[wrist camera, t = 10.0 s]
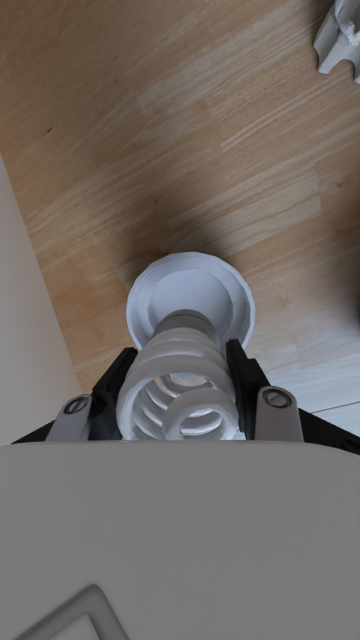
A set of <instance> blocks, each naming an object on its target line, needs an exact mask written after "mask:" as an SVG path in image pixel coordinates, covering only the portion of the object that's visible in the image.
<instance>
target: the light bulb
mask: <svg viewBox="0 0 360 640" xmlns="http://www.w3.org/2000/svg"><path fill="white" fill-rule="evenodd" d="M170 376H171V377H173V378H175V379H181V380H190V379H196V378H199V377H203V378H205V379H207V380H208V381H207V382H206V383H204V384H202V385H199V386H195V387H187V386H181V385H178V384H176V383H174V382H173V381H172V380H171V378H170ZM157 377H160V380H161V383H162V386H163V387H164V389H165V390H166V391H167V392H168V393H169V394H170V395H172V396H175V397H177V398H172V397H171V396H169V395H167V394H165V393H164V392H163V391H162V390H161V389H160V388H159V387H158V386H157V384H156V383H155V381H154V379H155V378H157ZM235 402H236V392H235V388H234V385H233V383H232V374H231V370H230V368H229V366H228V364H227V363H226V359H225V357H224V355H223V353H222V351H221V350H220V342H219V337H218V334H217V332H216V330H215V328H214V327H213V325H212V323H211V321H210V320H209V318H207V317H206V316H205V315H203V314H202V313H201V312H198V311H195V310H192V309H181V310H176V311H174V312H172V313H170V314H168V315H167V316H166V317H165V318H164V319H163V320H162V321H161V322H160V323H159V324H158V325H157V327H156V329H155V331H154V333H153V335H152V337H151V340H150V341H149V342H148V343H147V344H146V345H145V346H144V347H143V348H142V349H141V350H140V352H139V353H138V355H137V356H136V358H135V360H134V363H133V364H132V365H131V367H130V369H129V371H128V373H127V375H126V379H125V382H124V384H123V386H122V387H121V390H120V392H119V396H118V400H117V405H116V417H117V423H118V427H119V429H120V432H121V434H122V435H123V436H124V438H125V439H126V440H231V438H232V437H233V435H234V433H235V432H236V430H237V427H238V419H239V415H238V411H237V408H236V405H235ZM156 403H157V404H158V405H160V406H162V407H163V408H165V409H167V410H166V411H165V410H163V409H162V408H160V407H159V406H158V405H156ZM211 411H212V412H211ZM208 412H210V413H209V414H206V415H204V416H200V417H194V418H188V416H190V415H201V414H205V413H208ZM146 414H147V415H148V416H149V417H150V418H151V419H153V420H154V421H155V422H157V423H159V424H160V425H162V428H161V427H160V426H158V425H157V424H155V423H154V422H153V421H152V420H151V419H150V418H149V417H148V416H147V415H146ZM216 427H217V428H216ZM213 428H216V429H214V430H213V431H211V432H209V433H206V434H202V435H198V436H185V435H183V433H182V432H204V431H208V430H210V429H213Z"/></svg>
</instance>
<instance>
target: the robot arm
mask: <svg viewBox="0 0 360 640" xmlns="http://www.w3.org/2000/svg"><path fill="white" fill-rule="evenodd" d="M137 355H138V351H137V349H135V348H134V347H129V348H124V350H123V351H122V352H121V353H120V355H119V356H118V357H117V358H116V360H115V361H114V362H113V363H112V365H111V366H110V367H109V368H108V370H107V371H106V372H105V373H104V375H103V376H102V377H101V379H100V380H99V381H98V382H97V384H96V385H95V386H94V387H93V389H92V390H93V392H92V393H91V395H89V394H83V395H79V396H77V397H74V398H72V399H71V400H69V401H68V402H67V403H66V404H65V405H64V406H63V407H62V408H61V410H60V412H59V414H58V416H57V418H56V419H55V420H54V421H52V422H51V423H48V424H46V425H45V426H43V427H41V428H39V429H37V430H35V431H33V432H31V433H30V434H28V435H26V436H24V437H22V438H20V439H19V440H17V441H15V442H13V443H11V444H10V445H5V446H1V447H0V640H360V437H358V436H356V435H354V434H352V433H350V432H348V431H346V430H343V429H341V428H339V427H337V426H335V425H333V424H331V423H329V422H327V421H325V420H323V419H321V418H319V417H317V416H314V415H312V414H310V413H308V412H306V411H304V410H302V409H300V408H298V407H297V401H296V399H295V397H294V396H293V395H292V394H291V393H290V392H288V391H287V390H285V389H283V388H280V387H276V386H271V385H270V383H269V381H268V380H267V378H266V376H265V374H264V373H263V371H262V369H261V367H260V366H259V364H258V362H257V360H256V359H255V358H252V359H248V358H247V356H246V354H245V352H244V350H243V348H242V346H241V344H240V342H239V340H238V339H229V342H226V362H227V364H228V366H229V368H230V370H231V374H232V383H233V385H234V388H235V392H236V402H235V405H236V408H237V411H238V415H239V419H238V425H239V429H240V432H244V433H245V437H246V440H121V439H122V437H123V435H122V434H121V432H120V429H119V427H118V423H117V417H116V405H117V400H118V396H119V392H120V390H121V387H122V386H123V384H124V382H125V379H126V375H127V373H128V371H129V369H130V367H131V365H132V364H133V363H134V360H135V358H136V356H137Z"/></svg>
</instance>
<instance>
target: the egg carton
mask: <svg viewBox="0 0 360 640" xmlns="http://www.w3.org/2000/svg"><path fill="white" fill-rule="evenodd" d="M313 47H314V48H315V49H316V51H317V53H318V56H319V66H318V72H320V73H324V74H328V73H329V72H330V71H331V69H332V68H333V66H334V65H336V64H337V63H338V62H339V61H340V60H343V59H347V60H349V61H352V62H353V63H354V66H355V78H354V82H356V84H360V0H335V1H334V3H333V5H332V7H331V9H330V10H329V12H328V14H327V16H326V18H325V20H324V22H323V23H322V25H321V27H320V28H319V30H318V32H317V35H316V38H315V40H314V44H313Z"/></svg>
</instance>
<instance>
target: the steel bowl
mask: <svg viewBox="0 0 360 640" xmlns="http://www.w3.org/2000/svg"><path fill="white" fill-rule="evenodd" d="M181 309H192V310H195V311H198V312H201V313H202V314H203V315H205V316H206V317H207V318H209V320H210V321H211V323H212V325H213V327H214V328H215V330H216V332H217V334H218V337H219V342H220V350H221V351H222V353H223V355H224V357H225V359H226V342H229V339H238V340H239V342H240V344H241V346H242V348H243V349H244V348H245V346H246V345H247V344H248V341H249V339H250V336H251V334H252V331H253V329H254V326H255V303H254V300H253V296H252V293H251V290H250V287H249V285H248V284H247V283H246V281H245V280H244V279H243V277H242V276H241V275H240V273H239V272H238V271H237V270H236V269H235V268H234V267H232V266H231V265H229V264H228V263H226V262H225V261H223V260H221V259H220V258H218V257H216V256H213V255H208V254H204V253H200V252H195V251H191V252H183V253H174V254H170V255H168V256H165V257H163V258H161V259H159V260H157V261H155V262H153V263H151V264H150V265H149V266H148V267H147V268H146V269H145V270H144V271H143V272H142V273H141V274H140V275H139V276H138V277H137V279H136V280H135V282H134V284H133V287H132V289H131V291H130V293H129V295H128V299H127V308H126V319H127V323H128V328H129V333H130V335H131V337H132V338H133V340H134V342H135V344H136V345H137V347H138V349H139V350H141V349H142V348H143V347H144V346H145V345H146V344H147V343H148V342H149V341H150V340H151V337H152V335H153V333H154V331H155V329H156V327H157V325H158V324H159V323H160V322H161V321H162V320H163V319H164V318H165V317H166V316H167V315H168V314H170V313H172V312H174V311H176V310H181ZM226 363H227V362H226Z"/></svg>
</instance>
